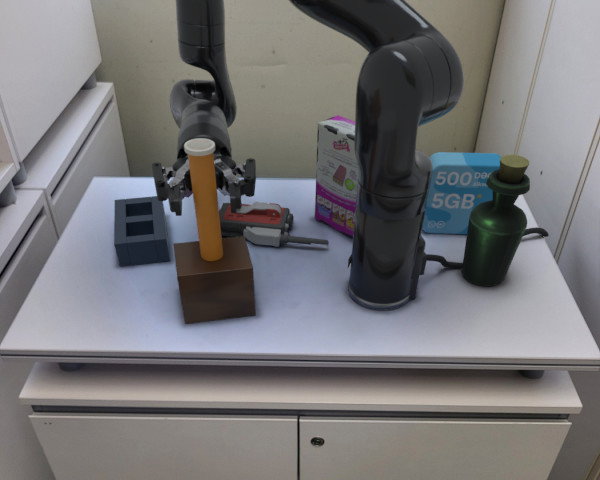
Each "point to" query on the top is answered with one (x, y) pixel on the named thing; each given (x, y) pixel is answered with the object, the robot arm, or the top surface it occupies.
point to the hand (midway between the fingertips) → (205, 207)
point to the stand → (215, 282)
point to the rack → (140, 231)
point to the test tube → (205, 197)
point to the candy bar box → (336, 174)
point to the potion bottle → (497, 224)
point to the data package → (457, 189)
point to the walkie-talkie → (261, 224)
